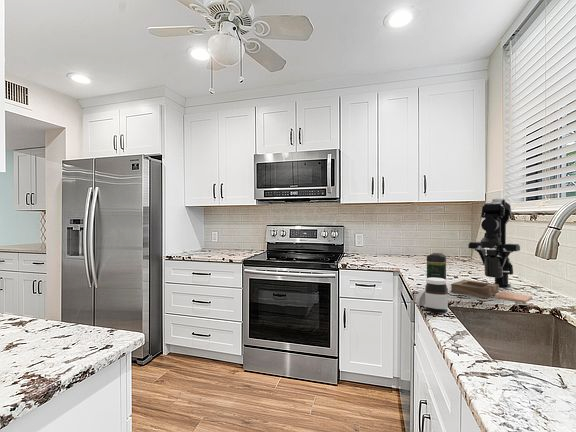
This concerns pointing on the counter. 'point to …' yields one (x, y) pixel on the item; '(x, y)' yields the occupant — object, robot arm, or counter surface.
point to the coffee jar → (436, 266)
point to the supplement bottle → (493, 263)
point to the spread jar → (434, 295)
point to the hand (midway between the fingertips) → (493, 265)
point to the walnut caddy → (475, 288)
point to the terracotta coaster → (513, 297)
